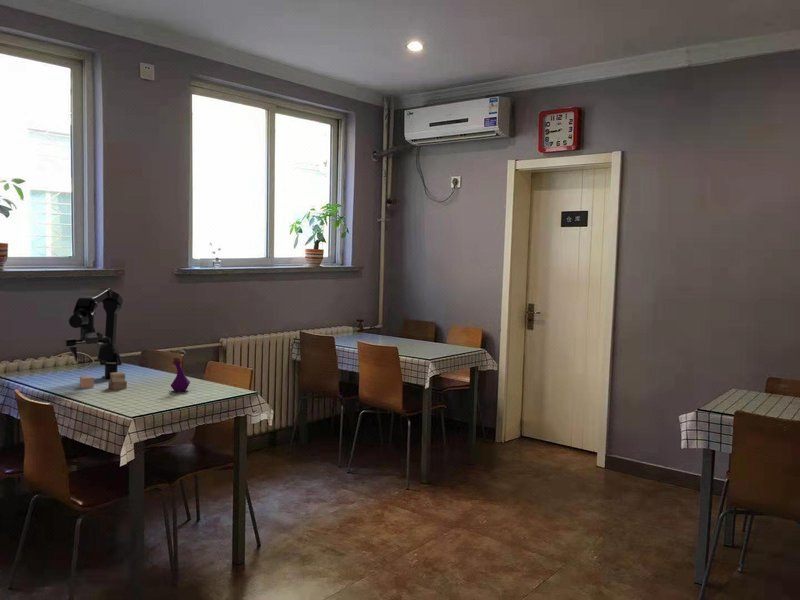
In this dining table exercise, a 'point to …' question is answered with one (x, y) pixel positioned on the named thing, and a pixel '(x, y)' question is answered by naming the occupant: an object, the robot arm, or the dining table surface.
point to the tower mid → (117, 377)
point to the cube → (87, 382)
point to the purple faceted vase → (179, 377)
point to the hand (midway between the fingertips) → (87, 360)
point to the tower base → (117, 385)
